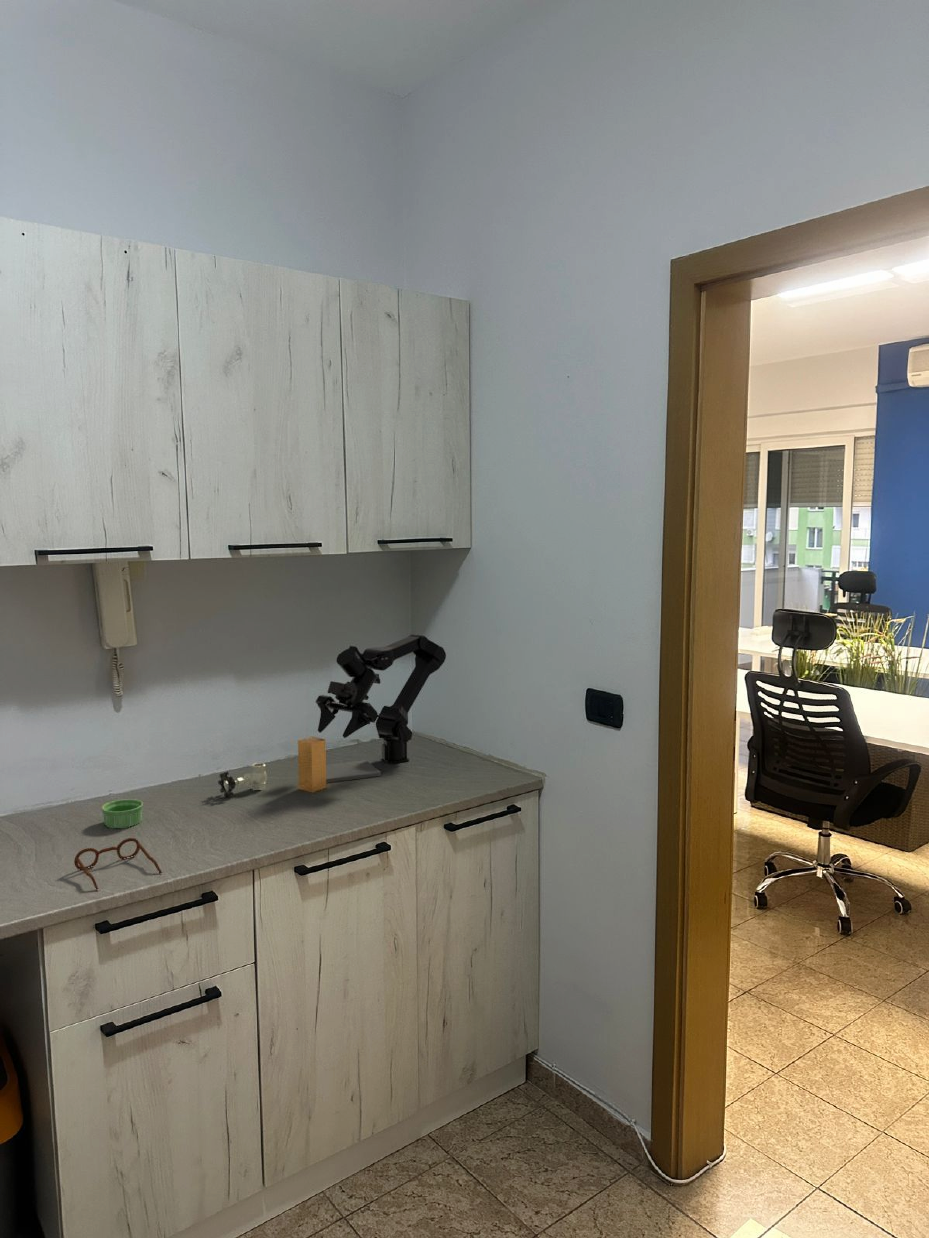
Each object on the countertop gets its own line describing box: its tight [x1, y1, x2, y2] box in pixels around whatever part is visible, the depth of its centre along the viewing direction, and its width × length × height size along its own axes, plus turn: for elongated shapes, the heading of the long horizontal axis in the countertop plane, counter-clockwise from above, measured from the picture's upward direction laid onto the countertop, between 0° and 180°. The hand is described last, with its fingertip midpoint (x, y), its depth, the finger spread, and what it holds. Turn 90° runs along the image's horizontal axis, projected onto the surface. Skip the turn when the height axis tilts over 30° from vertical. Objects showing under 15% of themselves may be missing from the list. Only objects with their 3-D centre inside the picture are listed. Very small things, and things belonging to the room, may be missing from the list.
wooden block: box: [297, 736, 327, 793], centre depth 233 cm, size 5×5×13 cm
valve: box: [217, 762, 268, 798], centre depth 230 cm, size 7×7×12 cm
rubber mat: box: [326, 759, 382, 784], centre depth 247 cm, size 16×13×1 cm
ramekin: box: [101, 798, 144, 829], centre depth 207 cm, size 9×9×4 cm
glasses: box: [73, 837, 163, 890], centre depth 179 cm, size 13×13×5 cm
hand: (331, 734), depth 238 cm, fingers open, 9 cm apart
